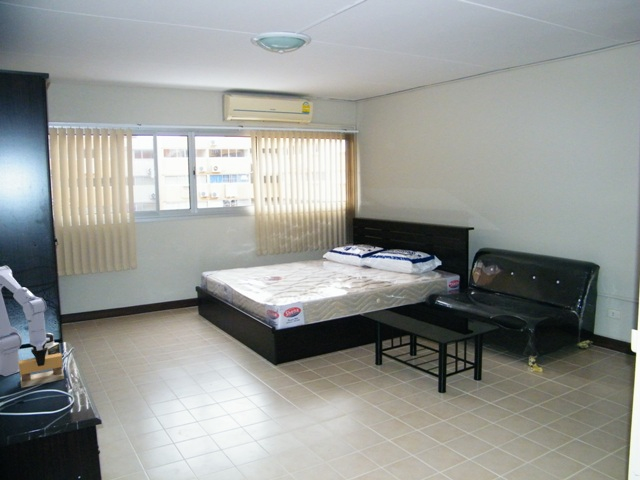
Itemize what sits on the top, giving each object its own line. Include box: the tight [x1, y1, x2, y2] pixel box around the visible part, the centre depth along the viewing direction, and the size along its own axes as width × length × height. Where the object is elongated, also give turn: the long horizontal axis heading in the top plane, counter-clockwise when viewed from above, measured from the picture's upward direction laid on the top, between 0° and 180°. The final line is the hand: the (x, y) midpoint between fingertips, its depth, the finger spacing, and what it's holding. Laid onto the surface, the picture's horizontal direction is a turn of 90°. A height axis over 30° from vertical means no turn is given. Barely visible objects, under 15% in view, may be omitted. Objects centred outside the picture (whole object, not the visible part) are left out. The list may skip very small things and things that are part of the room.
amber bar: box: [19, 352, 64, 376], centre depth 206 cm, size 15×4×4 cm, turn 120°
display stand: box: [20, 367, 65, 389], centre depth 207 cm, size 15×8×4 cm, turn 120°
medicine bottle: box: [44, 332, 61, 356], centre depth 227 cm, size 7×7×12 cm
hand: (40, 362), depth 206 cm, fingers open, 7 cm apart
